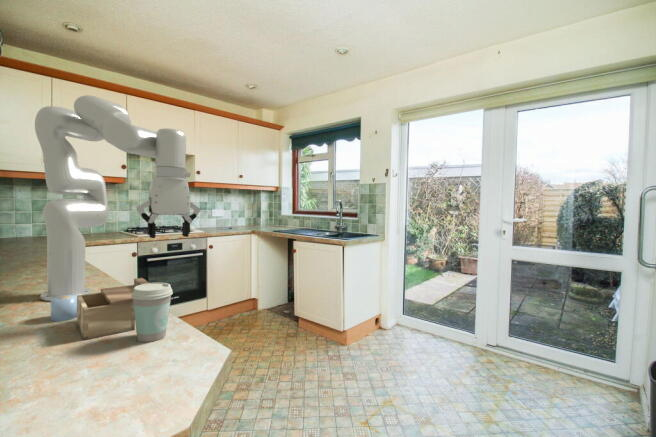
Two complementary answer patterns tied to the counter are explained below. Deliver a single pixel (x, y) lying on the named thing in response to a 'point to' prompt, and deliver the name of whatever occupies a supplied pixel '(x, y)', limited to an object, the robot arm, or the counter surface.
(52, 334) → the counter surface
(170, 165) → the robot arm
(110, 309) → the crate
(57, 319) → the pale blue rounded block
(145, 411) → the counter surface
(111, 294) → the lid
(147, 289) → the coffee cup
